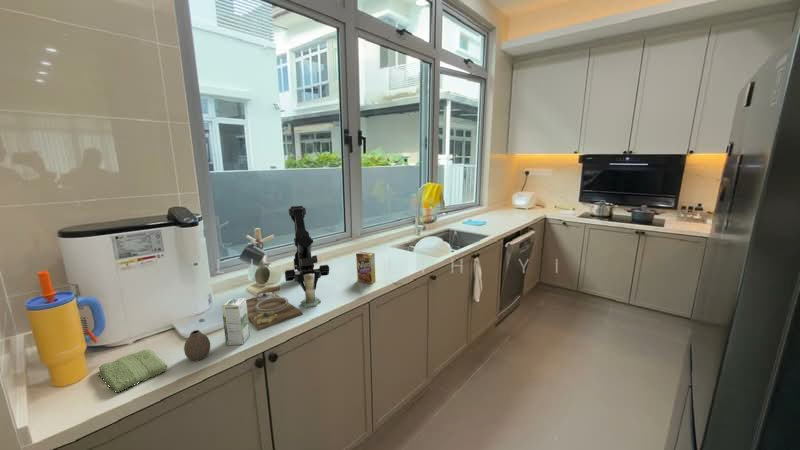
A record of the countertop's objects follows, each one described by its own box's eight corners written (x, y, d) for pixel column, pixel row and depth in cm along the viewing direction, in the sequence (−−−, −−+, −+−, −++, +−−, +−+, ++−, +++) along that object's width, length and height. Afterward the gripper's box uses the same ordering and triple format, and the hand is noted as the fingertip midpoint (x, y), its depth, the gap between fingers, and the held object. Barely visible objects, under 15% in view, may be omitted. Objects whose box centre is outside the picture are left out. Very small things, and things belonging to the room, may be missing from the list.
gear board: (234, 305, 134) (233, 298, 133) (273, 293, 145) (272, 287, 145) (258, 330, 113) (258, 322, 112) (302, 314, 124) (301, 307, 124)
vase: (216, 352, 99) (213, 328, 98) (196, 365, 93) (192, 339, 91) (201, 349, 102) (197, 324, 100) (180, 361, 95) (176, 335, 94)
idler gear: (298, 303, 135) (295, 275, 132) (314, 297, 140) (312, 270, 137) (307, 309, 129) (304, 280, 126) (323, 303, 134) (321, 275, 131)
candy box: (356, 281, 159) (355, 253, 156) (361, 278, 163) (360, 251, 160) (371, 284, 155) (370, 255, 152) (375, 281, 159) (374, 252, 156)
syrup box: (233, 336, 109) (228, 298, 106) (250, 335, 109) (246, 297, 106) (226, 346, 103) (220, 305, 100) (244, 344, 104) (239, 304, 101)
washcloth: (150, 352, 101) (148, 343, 101) (170, 371, 91) (169, 362, 91) (96, 374, 91) (93, 364, 90) (112, 399, 81) (110, 388, 80)
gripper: (282, 252, 130) (286, 286, 122) (327, 247, 137) (333, 278, 129) (283, 265, 138) (287, 297, 131) (325, 259, 146) (331, 289, 138)
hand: (310, 290), depth 132 cm, fingers closed on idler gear, 4 cm apart
